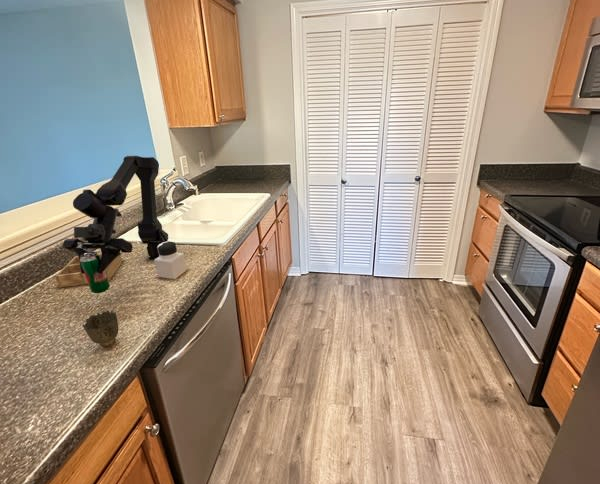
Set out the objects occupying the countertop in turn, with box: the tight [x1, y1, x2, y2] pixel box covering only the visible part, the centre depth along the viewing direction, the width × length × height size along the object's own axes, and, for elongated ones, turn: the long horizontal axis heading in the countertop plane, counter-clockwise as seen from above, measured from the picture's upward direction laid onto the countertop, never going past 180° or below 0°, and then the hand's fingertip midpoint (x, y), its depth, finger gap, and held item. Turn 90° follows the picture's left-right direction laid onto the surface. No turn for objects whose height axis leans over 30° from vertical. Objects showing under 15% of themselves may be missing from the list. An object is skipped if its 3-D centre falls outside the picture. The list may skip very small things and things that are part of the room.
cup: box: [82, 309, 119, 348], centre depth 83 cm, size 8×7×8 cm
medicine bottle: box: [154, 240, 188, 280], centre depth 115 cm, size 7×7×12 cm
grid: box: [54, 252, 123, 288], centre depth 120 cm, size 16×16×4 cm
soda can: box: [80, 251, 111, 294], centre depth 96 cm, size 5×5×12 cm
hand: (91, 273), depth 95 cm, fingers closed on soda can, 5 cm apart
